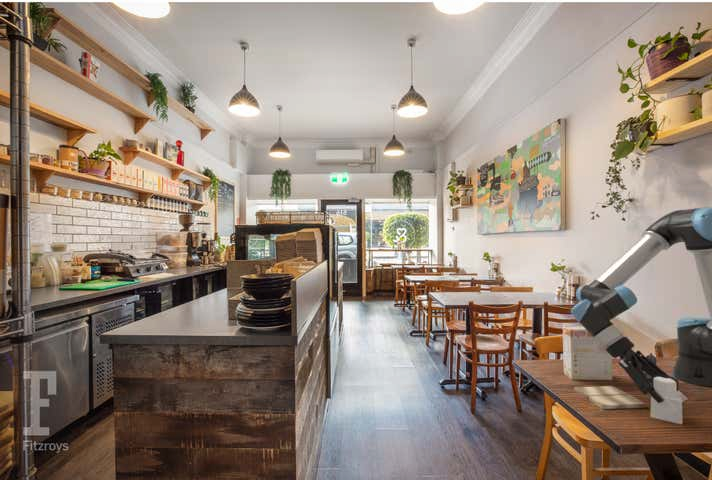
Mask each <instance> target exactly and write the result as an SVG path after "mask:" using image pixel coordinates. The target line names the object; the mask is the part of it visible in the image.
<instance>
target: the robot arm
mask: <svg viewBox="0 0 712 480" xmlns="http://www.w3.org/2000/svg"><path fill="white" fill-rule="evenodd" d="M679 243H684V246H685V249H686V251H688V252H689V253H691V254H693V257H694V261H695V264H696V268H697V273H698V276H699V281H700V283H701V287H702V290H703V294H704V298H705V302H706V305H707V306H706V307H707V310H708V314H709V317H708V318H707V317H681V318H679V319H678V320H677V327H676V331H677V350H678V351H677V353H678V354H677V358H676V360H675V362H674V363H675V364H674V366H673V367H672V376H673V378H675V379H678V380H680V381H683V382H685V383H688V384H693V385H698V386H703V387H710V388H712V206H711V207H709V206H705V207H697V208H689V209H679V210H674V211H672V212H668V213H667V214H664V215H663V216H661V217H660V218H659V219H657V220H656V221H655V222H653V223H652V224H651V225H650V226H648V227H647V228H646V229H645V230H644V231H642V233H641V238H640V239H639V240H637V241H636V242H635V243H634V244H633V245H631V246H630V248H628V249H627V250H626V251H625V252H624V253H623V254H622V255H621V256H620V257H618V259H616V260H614V262H613V263H612V264H610V266H608V267H607V268H606V269H605V270H604V271H603V272H602V273H600V274H599V276H598V277H596V278H595V279H594V280H593V281H591V283H590V284H585V285H580V286H579V287H578V288H577V289H576V292H575V295H576V299H577V301H578V303H576V304H575V305H574V306H573V307H572V308H571V309H570V314H571V315H572V316H573V318H575V320H576V321H577V322H578V323H579V325H582V326H583V327H584V328H585V329H586V330H587V331H588V332H589V333H590V334H591V335H592V336H593V337H594V338H595V339H596V342H597V343H600V344H601V345H602V346H603V347H606V351H607V352H608V353H609V354H610V355H611V356H612V359H617V358H619V359H620V361H619V362H618V365H619V366H620V367H621V368H622V369H623V370H624V371H625V372H626V374H627V375H628V376H629V378H630V379H631V380H632V382H633V383H634V384H635V385H636V387H637V388H638V389H639V391H640V392H641V393H642V394H643V395H644V396H646V395H647V394H648V395H649V397H650V396H651V397H652V398H653V399H654V400H655V401H656V402H657V403H658V404H659V405H660V406H661V407H662V408H663V410H664V411H665V412H666V413H667V414H668V415H669V414H671V413H673V412H675V411H677V410H678V409H677V408H676V407H675V406H674V405H673V404H672V403H671V402H670V401H669V400H668V399H667V398H666V397H665V396H664V395H663V394H662V393H661V392H660V391H659V390H658V389H655V388H654V387H653V385H652V384H651V382H650V381H649V379H648V378H647V376H646V375H645V372H646V373H647V374H648V375H650V376H651V377H652V376H653V375H667V376H669V375H668V374H667V372H665V371H664V370H663V369H661V368H660V367H659V366H658V365H657V364H656V365H657V366H658V367H657V366H656V365H655V364H654V363H653V362H651V361H650V360H649V359H648V358H646V356H645V354H644V353H643V352H642V351H640V350H633V348H634V347H635V344H634V343H633V341H631V340H630V339H629V338H628V337H627V336H624V333H623V331H621V330H620V329H619V327H617V326H616V325H615V324H614V323H613V322H612V321H611V320H613V319H614V318H616V317H618V316H619V315H621V314H623V313H624V312H626V311H628V310H630V309H631V308H632V307H633V306H635V305H636V304H637V302H638V298H637V296H636V294H635V293H634V292H633V291H632V290H631V289H630V288H629V287H627V286H625V284H626V283H627V282H628V281H629V280H630V279H631V278H632V277H634V276H635V275H636V274H637V273H638V272H639V271H640V270H642V269H643V268H644V267H645V266H646V265H647V264H648V263H649V262H651V260H653V258H655V257H656V256H657V255H658V254H659V253H661V251H667V250H669V248H671V247H672V246H674V245H675V244H679ZM678 391H679V392H680V394H681V399H682V403H683V402H685V401H686V400H688V398H687V397H686V396H685V395H684V393H682V391H680V389H678Z"/></svg>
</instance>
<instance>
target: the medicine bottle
mask: <svg viewBox="0 0 712 480" xmlns="http://www.w3.org/2000/svg"><path fill="white" fill-rule="evenodd" d="M667 375H668V374H667ZM667 375H653V376H652V385H653V387H654V388H655V389H658V390H659V391H660V392H661V393H662V394H663V395H664V396H665V397H666V398H667V399H668V400H669V401H670V402H671V403H672V404H673V405H674V406H675V407H676V408H677V409H678V410H677V411H675V412H673V413H671V414H669V415H668V414H667V413H666V412H665V411H664V410H663V408H662V407H661V406H660V405H659V404H658V403H657V402H656V401H655V400H654V399H653V398H652V397H651V396H650V395H649V408H650V409H649V412H650V413H649V414H650V418H651V419H655V420H660V421H664V422H669V423H672V424H677V425H683V402H682V399H681V394H680V392H681V391H680V390H679V380H677V378H676V377H674V376H673V377H672V376H670V375H668V376H667ZM678 390H679V391H680V392H679V391H678Z"/></svg>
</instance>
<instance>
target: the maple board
mask: <svg viewBox="0 0 712 480" xmlns="http://www.w3.org/2000/svg"><path fill="white" fill-rule="evenodd" d="M573 391H574V392H576V393H577V394H579V395H580V396H582V397H583V398H585V399H587V400H588V401H589V402H591V403H592V404H594V405H596V406H598V408H600V409H602V410H610V409H612V410H615V409H638V408H639V409H641V408H642V409H643V408H647V406H646V404H647V403H645V402H643V401H641V400H640V399H638V398H637V397H634V396H632V395H630V394H629V393H627V392H625V391H623V390H621V389H619V388H617V387H616V386H614V385H605V386H604V385H603V386H577V387H575V386H574V388H573Z"/></svg>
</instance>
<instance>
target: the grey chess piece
mask: <svg viewBox="0 0 712 480" xmlns="http://www.w3.org/2000/svg"><path fill="white" fill-rule="evenodd" d="M645 357H646V358H648V359H649V360H650V361H651V362H653V363H654V364H655V365H656V366H657V367H659V366H658V365H657V357H656V356H655V355H654V354H653V353H652V352H650V353H649V354H647V355H646V356H645ZM644 373H645V375H646V376H647V378H648V379H649V381H650V382H651V384H652V377H651V376H650V375H648V374H647V373H646V372H644Z"/></svg>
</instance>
